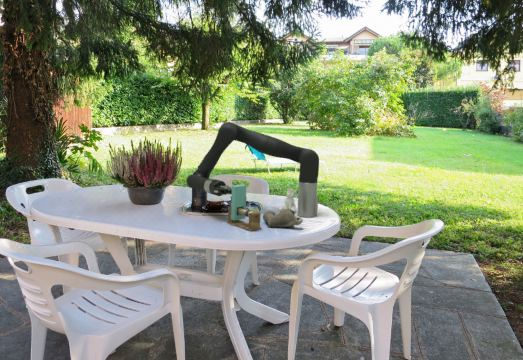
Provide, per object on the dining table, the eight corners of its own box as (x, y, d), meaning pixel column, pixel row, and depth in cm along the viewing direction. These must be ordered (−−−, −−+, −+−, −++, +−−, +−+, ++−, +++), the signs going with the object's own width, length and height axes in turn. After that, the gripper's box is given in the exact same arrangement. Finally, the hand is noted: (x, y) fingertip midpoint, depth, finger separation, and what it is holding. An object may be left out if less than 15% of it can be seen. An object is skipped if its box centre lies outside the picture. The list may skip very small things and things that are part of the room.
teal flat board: (231, 219, 212) (231, 186, 209) (242, 217, 216) (242, 184, 213) (234, 220, 210) (235, 186, 207) (245, 218, 214) (246, 185, 212)
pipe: (279, 245, 210) (307, 228, 211) (273, 235, 203) (303, 218, 204) (263, 220, 221) (290, 204, 222) (258, 210, 214) (285, 194, 215)
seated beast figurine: (276, 211, 240) (277, 188, 238) (284, 208, 247) (284, 186, 245) (293, 214, 236) (294, 191, 233) (300, 210, 243) (301, 188, 241)
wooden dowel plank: (226, 222, 215) (227, 206, 214) (237, 221, 219) (237, 204, 218) (250, 231, 202) (251, 213, 201) (261, 229, 206) (261, 212, 205)
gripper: (225, 193, 231) (247, 199, 218) (203, 196, 222) (224, 202, 209) (226, 178, 229) (247, 183, 216) (203, 180, 221) (224, 186, 208)
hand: (236, 192), depth 213 cm, fingers closed
